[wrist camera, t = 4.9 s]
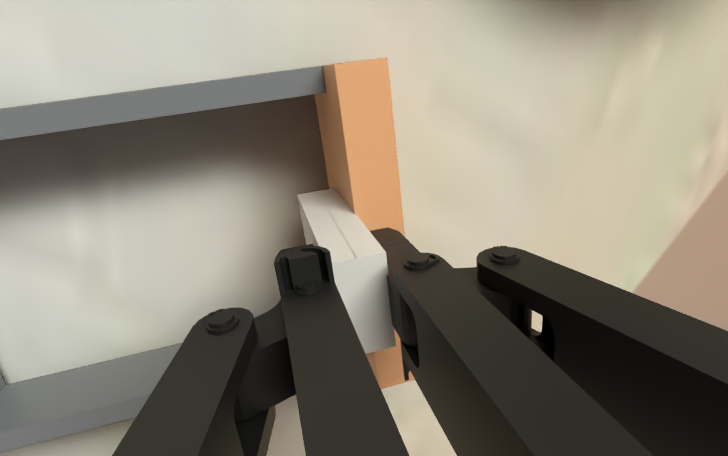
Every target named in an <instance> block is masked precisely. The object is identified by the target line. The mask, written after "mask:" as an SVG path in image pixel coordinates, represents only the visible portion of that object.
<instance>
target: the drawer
mask: <svg viewBox="0 0 728 456" xmlns="http://www.w3.org/2000/svg"><path fill="white" fill-rule="evenodd" d="M313 94H314V95H315V101H316V107H317V114H318V120H319V126H320V133H321V139H322V145H323V152H324V158H325V164H326V171H327V177H328V183H329V189H332V188H335V189H336V190H337V191H338V193H339V194H340V195H341V196H342V198H343V199H344V200H345V202H346V203H347V204H348V206H349V207H350V208H351V209H352V211H353V212H354V213H355V214H356V215H357V216H358V217H359V219H360V220H361V221H362V222H363V224H364V225H365V226H366V227H367V229H368V230H369V231H372V230H377V229H382V228H387V227H389V228H391V229H394V230H397V231H399V232H400V233H401V234H402V235H403V236H404V237H405V233H404V222H403V212H402V202H401V192H400V182H399V171H398V161H397V151H396V141H395V131H394V120H393V110H392V100H391V90H390V80H389V69H388V59H387V58H379V59H371V60H362V61H354V62H346V63H339V64H331V65H324V66H316V67H309V68H301V69H294V70H286V71H279V72H271V73H264V74H256V75H249V76H241V77H234V78H226V79H219V80H211V81H204V82H197V83H189V84H182V85H174V86H167V87H159V88H152V89H144V90H137V91H129V92H122V93H114V94H107V95H99V96H92V97H84V98H77V99H69V100H62V101H54V102H47V103H40V104H32V105H25V106H17V107H10V108H2V109H0V140H4V139H11V138H18V137H25V136H32V135H39V134H45V133H52V132H59V131H66V130H73V129H80V128H87V127H94V126H100V125H107V124H114V123H121V122H128V121H135V120H142V119H148V118H155V117H162V116H169V115H176V114H183V113H190V112H197V111H203V110H210V109H217V108H224V107H231V106H238V105H245V104H252V103H258V102H265V101H272V100H279V99H286V98H293V97H300V96H306V95H313ZM394 332H395V341H396V346H394V347H390V348H386V349H383V350H379V351H375V352H371V353H367V354H366V356H367V358H368V361H369V363H370V365H371V368H372V370H373V372H374V375H375V377H376V379H377V382H378V384H379V386H380V389H383V388H386V387H390V386H394V385H397V384H401V383H404V382H408V381H412V380H415V378H414V377H413V375H412V373H411V371H410V372H409V380H408V381H405V379H404V372H403V363H402V353H401V343H400V337H399V336H398V334H397V332H396V330H395V329H394ZM181 345H182V343H180V344H175V345H171V346H167V347H163V348H159V349H155V350H150V351H146V352H142V353H138V354H134V355H129V356H125V357H121V358H117V359H113V360H108V361H104V362H100V363H96V364H92V365H87V366H83V367H79V368H75V369H71V370H66V371H62V372H58V373H54V374H50V375H45V376H41V377H37V378H33V379H29V380H24V381H20V382H16V383H12V384H8V385H6V384H5V382H4V380H3V378H2V376H1V374H0V453H2V452H6V451H9V450H13V449H17V448H21V447H25V446H28V445H32V444H36V443H40V442H44V441H47V440H51V439H55V438H59V437H63V436H66V435H70V434H74V433H78V432H82V431H85V430H89V429H93V428H97V427H101V426H104V425H108V424H112V423H116V422H119V421H123V420H127V419H131V418H135V417H137V415H138V414H139V412H140V410H141V409H142V407H143V406H144V404H145V402H146V401H147V399H148V398H149V396H150V394H151V393H152V391H153V390H154V388H155V386H156V385H157V383H158V382H159V380H160V378H161V377H162V375H163V374H164V372H165V370H166V369H167V367H168V366H169V364H170V362H171V361H172V359H173V358H174V356H175V354H176V353H177V351H178V350H179V348H180V346H181Z"/></svg>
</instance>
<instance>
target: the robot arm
mask: <svg viewBox="0 0 728 456" xmlns="http://www.w3.org/2000/svg"><path fill="white" fill-rule="evenodd" d="M297 196H298V202H299V208H300V213H301V219H302V225H303V230H304V236H305V242H306V245H304V246H299V247H294V248H289V249H284V250H281V251H280V252H279V254H278V255H277V257H276V259H275V262H274V266H275V271H276V275H277V280H278V285H279V290H280V295H281V300H280V302H279V303H278V304H277V305H276V306H275V307H274V308H273V309H271V310H270V311H268V312H266V313H264V314H262V315H260V316H258V317H255V318H254V317H253V314H252V313H251V312H250V311H249V310H246V309H243V308H228V309H220V310H217V311H216V312H215V311H214V312H212V313H209V314H208V315H207V316H205V317H203V318H202V319H200V320H199V321H198V322H197V323H196V324H195V325H194V326H193V327H192V329H191V330H190V332H189V334H188V335H187V337H186V338H185V340H184V342H183V343H182V345H181V346H180V348H179V350H178V351H177V353H176V354H175V356H174V358H173V359H172V361H171V362H170V364H169V366H168V367H167V369H166V370H165V372H164V374H163V375H162V377H161V378H160V380H159V382H158V383H157V385H156V386H155V388H154V390H153V391H152V393H151V394H150V396H149V398H148V399H147V401H146V402H145V404H144V406H143V407H142V409H141V410H140V412H139V414H138V415H137V417H136V418H135V420H134V422H133V423H132V425H131V426H130V428H129V430H128V431H127V433H126V434H125V436H124V438H123V439H122V441H121V442H120V444H119V446H118V447H117V449H116V450H115V452H114V454H113V455H112V456H266V454H267V450H268V445H269V441H270V437H271V433H272V428H273V424H274V420H275V405H276V404H278V403H280V402H282V401H284V400H285V399H287V398H289V397H291V396H293V395H295V394H296V396H297V402H298V408H299V415H300V421H301V427H302V434H303V440H304V446H305V453H306V456H409V454H408V452H407V449H406V447H405V445H404V442H403V440H402V438H401V435H400V433H399V431H398V428H397V426H396V424H395V421H394V419H393V417H392V414H391V412H390V410H389V407H388V405H387V403H386V400H385V398H384V396H383V393H382V391H381V389H380V386H379V384H378V382H377V379H376V377H375V375H374V372H373V370H372V368H371V365H370V363H369V361H368V358H367V356H366V354H367V353H371V352H375V351H379V350H383V349H386V348H390V347H394V346H396V341H395V332H394V329H395V330H396V332H397V334H398V336H399V337H400V343H401V353H402V363H403V372H404V379H405V381H408V380H409V372H410V371H411V373H412V375H413V377H414V378H415V380H416V382H417V384H418V386H419V387H420V389H421V391H422V393H423V395H424V396H425V398H426V400H427V402H428V404H429V405H430V407H431V409H432V411H433V413H434V415H435V416H436V418H437V420H438V422H439V424H440V425H441V427H442V429H443V431H444V433H445V434H446V436H447V438H448V440H449V442H450V444H451V445H452V447H453V449H454V451H455V453H456V454H457V456H728V331H726V330H723V329H721V328H718V327H716V326H713V325H711V324H708V323H705V322H703V321H701V320H698V319H696V318H693V317H691V316H688V315H686V314H683V313H680V312H678V311H676V310H673V309H670V308H668V307H665V306H663V305H660V304H658V303H655V302H653V301H650V300H648V299H645V298H642V297H640V296H638V295H635V294H633V293H630V292H628V291H625V290H623V289H620V288H618V287H615V286H613V285H610V284H608V283H605V282H603V281H600V280H598V279H595V278H592V277H590V276H587V275H585V274H582V273H580V272H577V271H575V270H572V269H570V268H567V267H565V266H562V265H560V264H557V263H555V262H552V261H550V260H547V259H545V258H542V257H540V256H537V255H535V254H532V253H530V252H527V251H525V250H521V249H518V248H512V247H507V246H500V247H499V246H497V247H493V248H490V249H486V250H484V251H482V252H480V253H479V254H478V256H477V267H474V268H453V267H452V266H451V265H450V264H448V263H447V262H446V261H445V260H444V259H443V258H442V257H440V256H438V255H435V254H431V253H420V252H419V251H418V250H417V249H416V248H415V247H414V246H413V245H412V244H411V243H410V242H409V241H408V240H407V239H406V238H405V237H404V236H403V235H402V234H401V233H400V232H399V231H397V230H394V229H391V228H389V227H387V228H382V229H377V230H372V231H369V230H368V229H367V227H366V226H365V225H364V224H363V222H362V221H361V220H360V219H359V217H358V216H357V215H356V214H355V213H354V212H353V211H352V209H351V208H350V207H349V206H348V204H347V203H346V202H345V200H344V199H343V198H342V196H341V195H340V194H339V193H338V191H337V190H336V189H335V188H332V189H326V190H321V191H315V192H310V193H304V194H298V195H297ZM532 310H533V311H535V312H537V313H539V314H541V315H542V316H543V321H542V332H538V331H536V330H534V329H532V328H531V321H532Z"/></svg>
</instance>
